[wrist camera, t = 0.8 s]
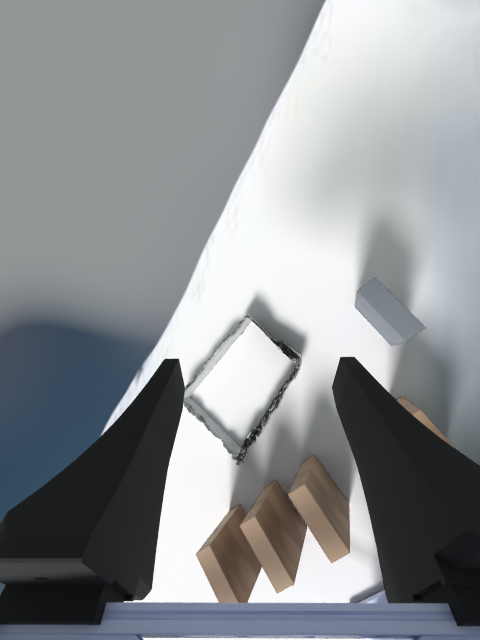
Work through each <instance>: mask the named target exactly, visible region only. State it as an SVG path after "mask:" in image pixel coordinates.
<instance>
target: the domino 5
mask: <svg viewBox="0 0 480 640" xmlns="http://www.w3.org/2000/svg"><path fill="white" fill-rule="evenodd" d="M396 400H397V401H398V402H399V403H400V404H401V405H402V406H403V407H404V408H405V409H406V410H408V411H409V412H410V413H411V414H412V415H413V416H414V417H415V418H417V419H418V420H419V421H420V422H421V423H422V424H424V425H425V426H426V427H427V428H429V429H430V430H431V431H432V432H434V433H435V434H436V435H437V436H439V437H440V438H441V439H443V440H444V441H445V442H447V443H448V444H449V445H451V446H452V447H453V448H455V447H454V446H453V445H452V444H451V443H450V442H449V441H448V440H447V439H446V437H445V436H444V435H443V434H442V433H441V432H440V431H439V430H438V429H437V427H436V426H435V425H434V424H433V423H432V422H431V421H430V420H429V418H428V417H427V416H426V415H425V414H424V413H423V412H422V411H421V410H420V409H419V408H418V407H416V406H415V405H413V404H412V403H410V402H409V401H407V400H406V399H404V398H403V397H402V396H401V397H399V398H398V399H396Z"/></svg>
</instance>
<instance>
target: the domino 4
mask: <svg viewBox="0 0 480 640" xmlns="http://www.w3.org/2000/svg"><path fill="white" fill-rule="evenodd" d="M355 308H356V309H357V310H358V311H359V312H360V313H361V314H362V315H363V316H364V317H365V318H366V319H367V321H368V322H369V323H370V324H371V325H372V326H373V327H374V328H375V329H376V330H377V331H378V332H379V333H380V334H381V335H382V337H383V338H384V339H385V340H386V341H387V342H388V343H389V344H390V345H391V346H393V345H397V344H400V343H404V342H407V341H408V340H409V339H411V338H412V337H414V336H415V335H416V334H418V333H419V332H421V331H422V330H423V329H425V328H426V327H425V326H424V325H423V324H422V323H421V322H420V321H419V320H418V319H417V318H416V317H415V316H414V315H413V314H412V313H411V312H410V311H408V310H407V309H406V308H405V307H404V306H403V305H402V304H401V303H400V302H399V301H398V300H397V299H396V298H395V297H394V296H393V295H392V294H391V293H390V292H389V291H388V290H387V289H386V288H385V287H384V286H383V285H382V284H381V283H380V282H379V281H378V280H377V279H376V278H375V277H374V278H373V279H372V280H371V281H369V282H368V283H367V284H365V285H364V286H363V287H362V288H360V289H359V290H358V291H357V295H356V302H355Z"/></svg>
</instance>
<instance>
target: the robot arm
mask: <svg viewBox="0 0 480 640" xmlns="http://www.w3.org/2000/svg"><path fill="white" fill-rule="evenodd" d="M332 390H333V395H334V399H335V403H336V408H337V411H338V414H339V417H340V419H341V422H342V425H343V428H344V431H345V433H346V436H347V439H348V441H349V444H350V447H351V450H352V452H353V455H354V458H355V461H356V464H357V467H358V471H359V474H360V478H361V482H362V486H363V490H364V494H365V498H366V502H367V506H368V510H369V515H370V519H371V523H372V528H373V533H374V537H375V542H376V547H377V552H378V557H379V562H380V567H381V572H382V578H383V583H384V589H385V590H383V591H381V592H379V593H377V594H375V595H373V596H371V597H369V598H367V599H365V600H363V601H361V602H359V603H123V602H124V601H133V600H143V599H144V598H145V597H146V596H147V595H148V593H149V592H150V591H151V589H152V582H153V573H154V564H155V555H156V547H157V539H158V531H159V523H160V516H161V509H162V502H163V495H164V489H165V483H166V476H167V470H168V465H169V461H170V457H171V453H172V449H173V445H174V441H175V437H176V433H177V429H178V425H179V421H180V417H181V413H182V408H183V402H184V394H185V386H184V381H183V377H182V372H181V367H180V362H179V359H165V360H164V361H163V362H162V363H161V365H160V366H159V368H158V369H157V370H156V372H155V373H154V375H153V376H152V377H151V379H150V380H149V382H148V383H147V384H146V386H145V387H144V388H143V389H142V391H141V392H140V393H139V395H138V396H137V397H136V398H135V400H134V401H133V402H132V403H131V404H130V405H129V407H128V408H127V409H126V410H125V411H124V412H123V414H122V415H121V416H120V417H119V418H118V419H117V420H116V421H115V422H114V424H113V425H112V426H111V427H110V428H109V429H108V430H107V431H106V432H105V433H104V434H103V435H102V436H101V437H100V438H99V439H98V440H97V441H96V442H95V443H93V445H91V446H90V447H89V448H88V449H87V450H86V451H85V452H84V453H83V454H81V455H80V456H79V457H78V458H77V459H76V460H75V461H73V462H72V463H71V464H70V465H69V466H67V467H66V468H65V469H64V470H63V471H61V472H60V473H59V474H58V475H56V476H55V477H54V478H53V479H52V480H51V481H49V482H48V483H47V484H45V485H44V486H43V487H41V488H40V489H38V490H37V491H36V492H34V493H33V494H32V495H30V496H29V497H27V498H26V499H25V500H24V501H22V502H21V503H20V504H18V505H17V506H15V507H14V508H12V509H11V510H10V511H8V512H7V514H6V515H5V517H4V518H3V520H2V521H1V523H0V582H1V583H3V584H6V586H5V588H4V590H3V592H2V594H1V595H0V640H143V639H142V638H353V639H363V640H480V466H479V465H478V464H476V463H475V462H473V461H472V460H470V459H469V458H467V457H466V456H465V455H463V454H462V453H460V452H459V451H458V450H456V449H455V448H453V447H452V446H451V445H449V444H448V443H447V442H445V441H444V440H443V439H441V438H440V437H439V436H437V435H436V434H435V433H434V432H432V431H431V430H430V429H429V428H427V427H426V426H425V425H424V424H422V423H421V422H420V421H419V420H418V419H417V418H415V417H414V416H413V415H412V414H411V413H410V412H409V411H408V410H406V409H405V408H404V407H403V406H402V405H401V404H400V403H399V402H398V401H397V400H396V399H395V398H394V397H393V396H392V395H391V394H390V393H389V392H388V391H387V390H385V389H384V388H383V387H382V385H381V384H380V383H379V382H378V381H377V380H376V379H375V378H374V377H373V376H372V375H371V374H370V373H369V372H368V371H367V370H366V369H365V368H364V367H363V366H362V364H361V363H360V362H359V361H358V360H357V359H356V358H355V357H340V361H339V364H338V368H337V371H336V375H335V379H334V382H333V386H332Z"/></svg>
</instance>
